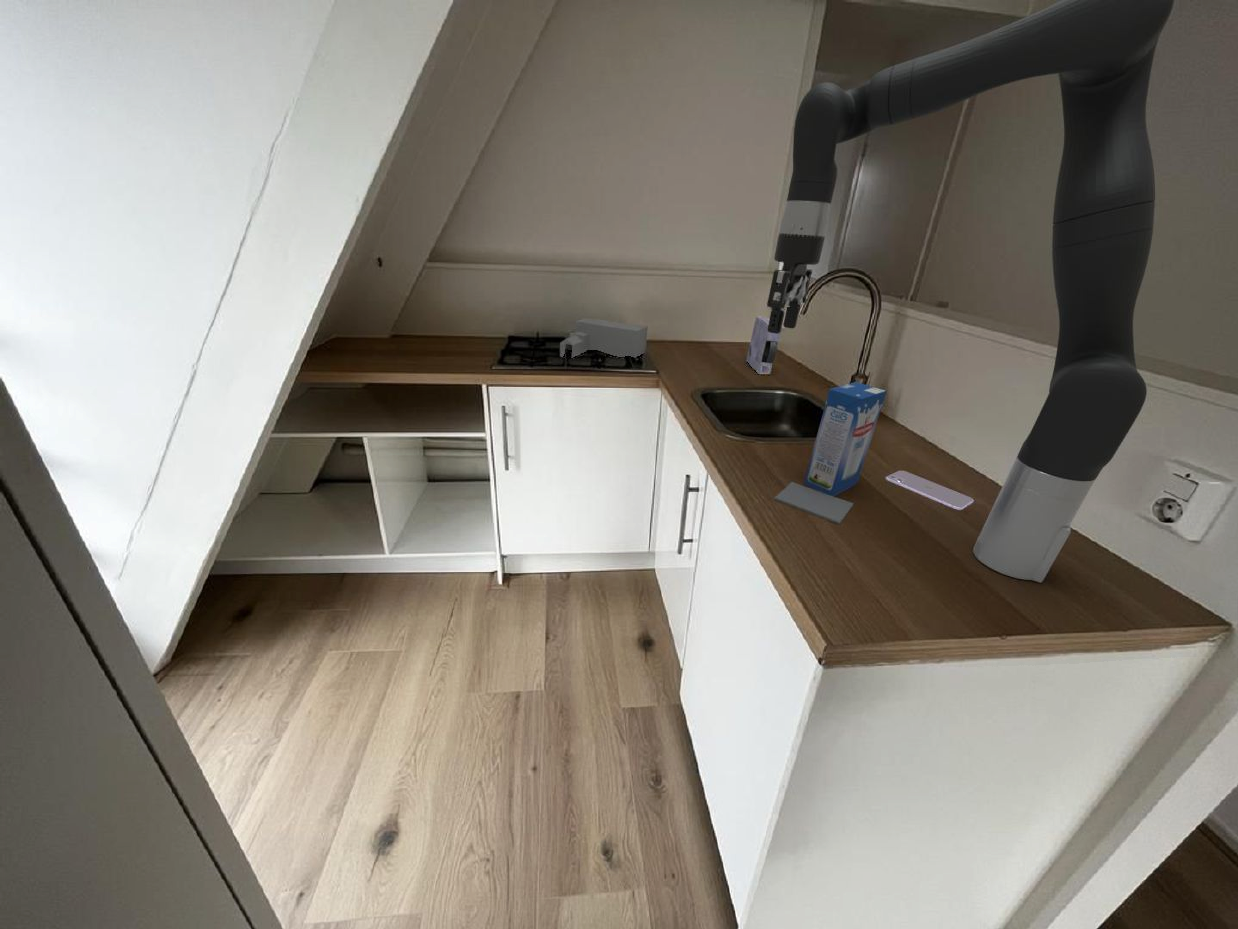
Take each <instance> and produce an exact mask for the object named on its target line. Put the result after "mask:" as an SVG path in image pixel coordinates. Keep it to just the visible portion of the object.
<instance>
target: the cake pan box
mask: <svg viewBox="0 0 1238 929" xmlns="http://www.w3.org/2000/svg"><path fill="white" fill-rule="evenodd" d="M769 320H770V317H769V318H768V317H765V316H758V315H757V316H755V321H754V325H753V330H752V333H751V338H750V342H749V346H748V351H747V356H746V360H745V363H746V362H748V363H749V364H750V366H751V367H752V368H754V369H755V370H756V372H757V373H758V374H770V375H771V372H772V367H773V363H774V360H775V358H776V355H777V350H778V345H779V344H778V343H779V341H780V336H781V332H782V331H781V332H780V333H778V334H776V333H770V332H768V325H769ZM782 328H783V327H782ZM782 328H781V330H782ZM748 363H747V364H748ZM749 364H748V365H749ZM750 366H749V367H750ZM751 367H750V368H751ZM756 372H755V373H756ZM757 373H756V374H757Z"/></svg>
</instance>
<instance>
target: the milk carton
mask: <svg viewBox="0 0 1238 929" xmlns="http://www.w3.org/2000/svg"><path fill="white" fill-rule="evenodd" d="M828 390H829V391H828V394H827V398H826V401H825V405H824V408H823V413H822V415H821V420H820V424H819V427H818V431H817V434H816V437H815V440H814V445H813V449H812V453H811V457H810V459H809V460H810V461H809V464H808V467H807V471H806V474H805V478H804V483H803V484H804V485H806V486H807V487H809V488H811V489H814V490H816V491H819V492H822V493H825V494H828V495H831V496H833V497H836V495H838V494H841V493H842V492H844V491H846V490H848V489H850V488H852V487H854V486H856V485H857V484H858V481H859V478H860V474H861V471H862V468H863V465H864V462H865V459H866V456H867V453H868V450H869V447H870V444H871V442H872V439H873V438H872V437H873V435H874V432H875V429H876V426H877V423H878V419H879V415H880V414H881V410H882V407H883V404H884V402H885V401H884V400H885V398H886V395H887V391H888V390H885V389H882V388H878V387H875V386H872V385H867V384H864V383H860V382H856V381H855V382H851V383H847V384H844V385H843V384H842V385H838V386H835V387H833V388H831V387H830V388H829V389H828Z"/></svg>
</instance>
